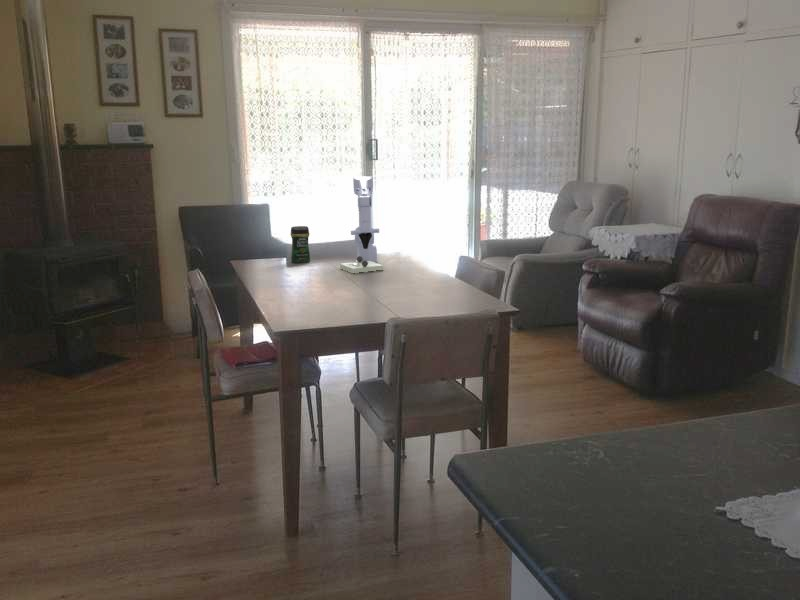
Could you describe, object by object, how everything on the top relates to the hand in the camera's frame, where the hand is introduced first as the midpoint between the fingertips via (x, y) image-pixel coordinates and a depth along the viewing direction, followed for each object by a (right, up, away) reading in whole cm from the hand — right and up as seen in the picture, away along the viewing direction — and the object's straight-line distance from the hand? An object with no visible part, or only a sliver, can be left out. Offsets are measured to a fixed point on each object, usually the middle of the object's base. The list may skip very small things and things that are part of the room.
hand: (365, 248), depth 355 cm
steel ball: (-5, -9, -3) cm, 11 cm away
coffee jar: (-34, -6, +21) cm, 41 cm away
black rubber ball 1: (-3, -5, +5) cm, 7 cm away
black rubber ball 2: (0, -8, -7) cm, 10 cm away
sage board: (-2, -10, -1) cm, 10 cm away
